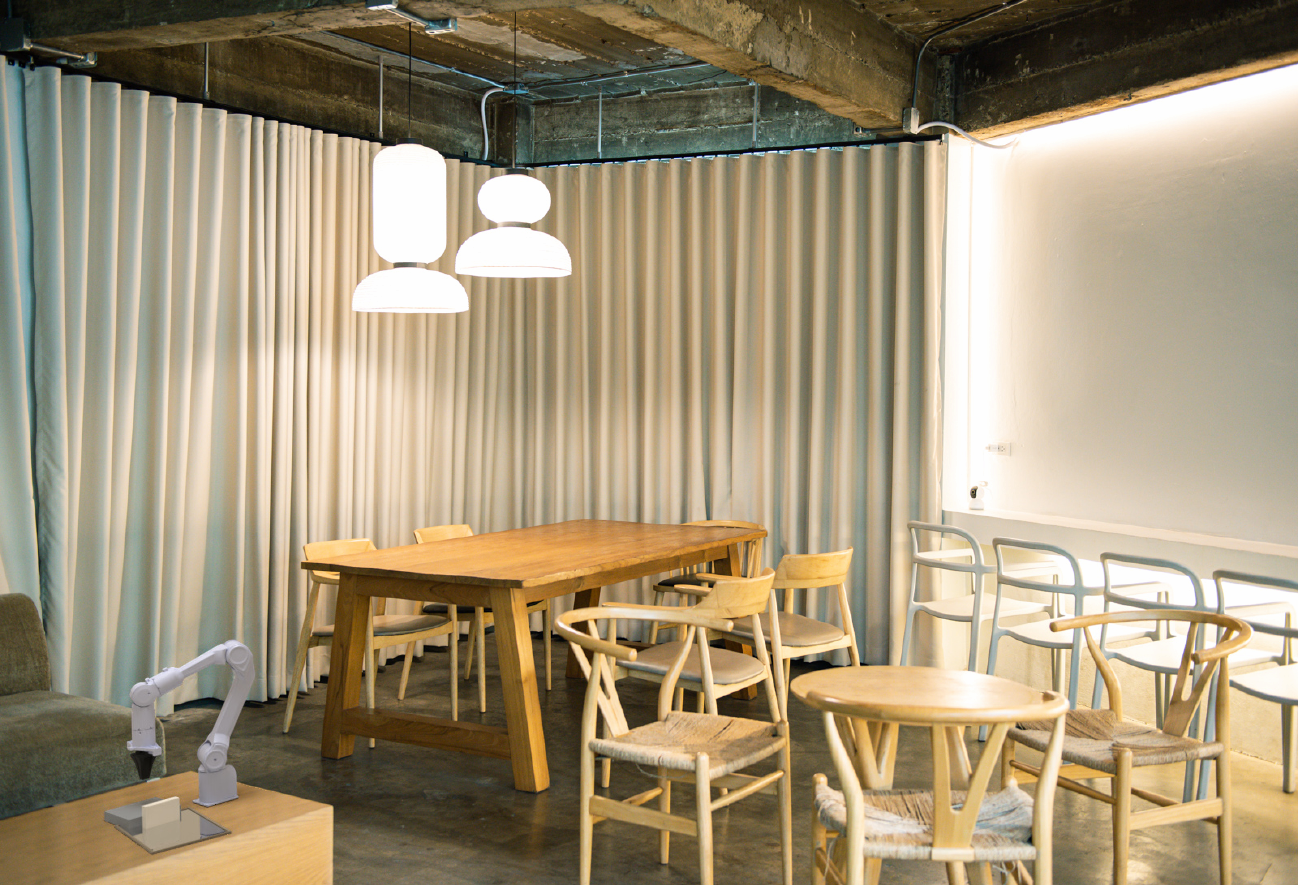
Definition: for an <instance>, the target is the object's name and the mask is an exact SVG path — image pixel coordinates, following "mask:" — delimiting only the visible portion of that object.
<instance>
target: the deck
mask: <svg viewBox="0 0 1298 885" xmlns="http://www.w3.org/2000/svg"><path fill="white" fill-rule="evenodd" d="M161 800H165V799H164V798H161V797H157V796H153V797H150V798H146V799H143V800H139V801H136V802H133V803H129V804H125V805H122V806H119V807H115V808H110V809H107V810H104V811H103V817H104V821H105V822H106V823H110V824H113V825H114V826H115V825H120V826H123V827H126V828H128V829H130V828H133V827H137V826H140V825H142V806H144V805H147V804H151V803H154V802H158V801H161ZM181 809H182V805H181V804H180V813H181Z"/></svg>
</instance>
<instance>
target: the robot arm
mask: <svg viewBox="0 0 1298 885" xmlns="http://www.w3.org/2000/svg"><path fill="white" fill-rule="evenodd" d="M226 664H228V666H229V667H230V669H231V671H232V673H233V675H234V680H233V682H232V683H231V686H230V689H229V690H228V693H227V696H226V698H225V701H224V702H223V705H222V707H221V710H220V712H219V713H218V714H219V715H218V717H217V719H216V721H215V723H214V726H213V728H212V730H211V731H210V733H209V734H208V735H207V736H206V739H205V741H204V742H203V743H202V744H200V746H199V747H198V749H197V752H196V756H197V759H198V761H199V762H200V765H199V767H198V769H197V770H198V771H197V772H198V774H197V775H198V798H196V799H193V800H191V801H192V803H195V804H197V805H200V806H204V807H211V806H214V805H215V804H216V805H218V804H221V803H225V802H228V801H231V800H236V799H238V798H239V797H240V796H239V795H238V783H237V780H238V779H237V778H238V777H237V776H238V775H237V771H236V768H235V767H234V766H233V764H226V763H227V762H228V750H229V747H230V738H231V735H232V733H233V731H234V729H235V726H236V724H237V721H238V718H239V717H240V714H241V712H242V709H243V707H244V705H245V702H246V700H247V697H248V695H249V693H250V691H251V688H252V685H253V684H254V682H255V678H256V670H255V664H254V654H253V653H252V651H251V650H250V648H249V647H248V645H245V644H244V643H242V642H241V641H239V640H237V639H229V640H227V641H225V642H224V643H221V644H218V645H216V646H214V647H212V648H211V649H209V650H207V651H206V652H204V653H201V655H199V656H197V657H195V658H194V659H192V660H190V661H188V662H187V663H185V664H184V665H182V666H180V667H176V666H175V667H174V666H170V667H167V666H165V667H164V668H162V669H161V670H162V671H161V672H159V673H157V674H154V676H151V677H150V678H149V677H146V678H145V679H144V681H140V682H136V684H134V685H133V686H132V687H131V688H130V692H129V694H128V696H129V698H130V699H129V700H131V701H132V702H131V714H130V715H131V740H129V741H126V748H127V751H130V752H132V751H135V752H132V753H130V755H129V756H130V758H131V759H132V761H133V762H134V765H135V768H136V771H137V775H138V778H139V780H141V781H144V780H148V779H150V777H151V775H152V769H153V765H154V763H155V761H156V759H157V757H158V756H160V755H161V756H162V754H163V753H162V752H163V751H162V747H161V746H159V744H158V743H157V742H156V709H155V703H154V702H156V700H157V698H160V697H163V696H164V695H166V694H168V693H170V692H171V691H174V690H176V689H177V688H179V687H180V686H182V685H183V683H184V680H185V679H186V678H188V677H190V676H192V675H194V674H197V673H199V672H201V671H202V670H204V669H206V668H208V667H211V666H212V665H213V666H214V665H219V666H226Z"/></svg>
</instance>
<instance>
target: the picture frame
mask: <svg viewBox="0 0 1298 885" xmlns="http://www.w3.org/2000/svg"><path fill="white" fill-rule="evenodd" d="M114 829H116V830H117V831H119V832H120V833H121V834H122V835H124V836H125V837H127V838H128V839H130V840H131V841H132V842H133V843H135V844H136V843H137V845H138V846H139V847H140V848H142V849H144V850H145V851H146V852H147V853H149V854H150V855H155V854H156V855H157V854H160V853H165V852H167V851H171V850H176V849H179V848H182V847H183V848H184V847H186V846H190V845H193V844H198V843H201V842H205V841H209V840H212V839H216V838H220V837H224V836H227V834H228V835H232V832H233V831H232V830H230V829H229V828H226V827H225V826H223V825H222V824H220V823H218V822H217V821H215V820H214V819H212V818H210V817H208V816H206V815H205V814H203V813H201V812H199V810H196V809H194V808H193V807H191V806H188V807H184V808H181V813H180V819H178V820H174V821H171V822H168V823H165V824H161V825H158V826H155V827H152V828H148V829H145V828H142V825H140V826H137V827H133V828H130V829H128V828H126V827H123V826H120V825H114Z"/></svg>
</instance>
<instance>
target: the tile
mask: <svg viewBox="0 0 1298 885" xmlns="http://www.w3.org/2000/svg"><path fill="white" fill-rule="evenodd" d="M180 805H181V804H180V797H178V796H172V797H169V798H166V799H164V800H161V801H158V802H154V803H151V804H147V805H144V806H142V828H145V829H148V828H152V827H155V826H158V825H161V824H165V823H168V822H171V821H174V820H178V819H180Z"/></svg>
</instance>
